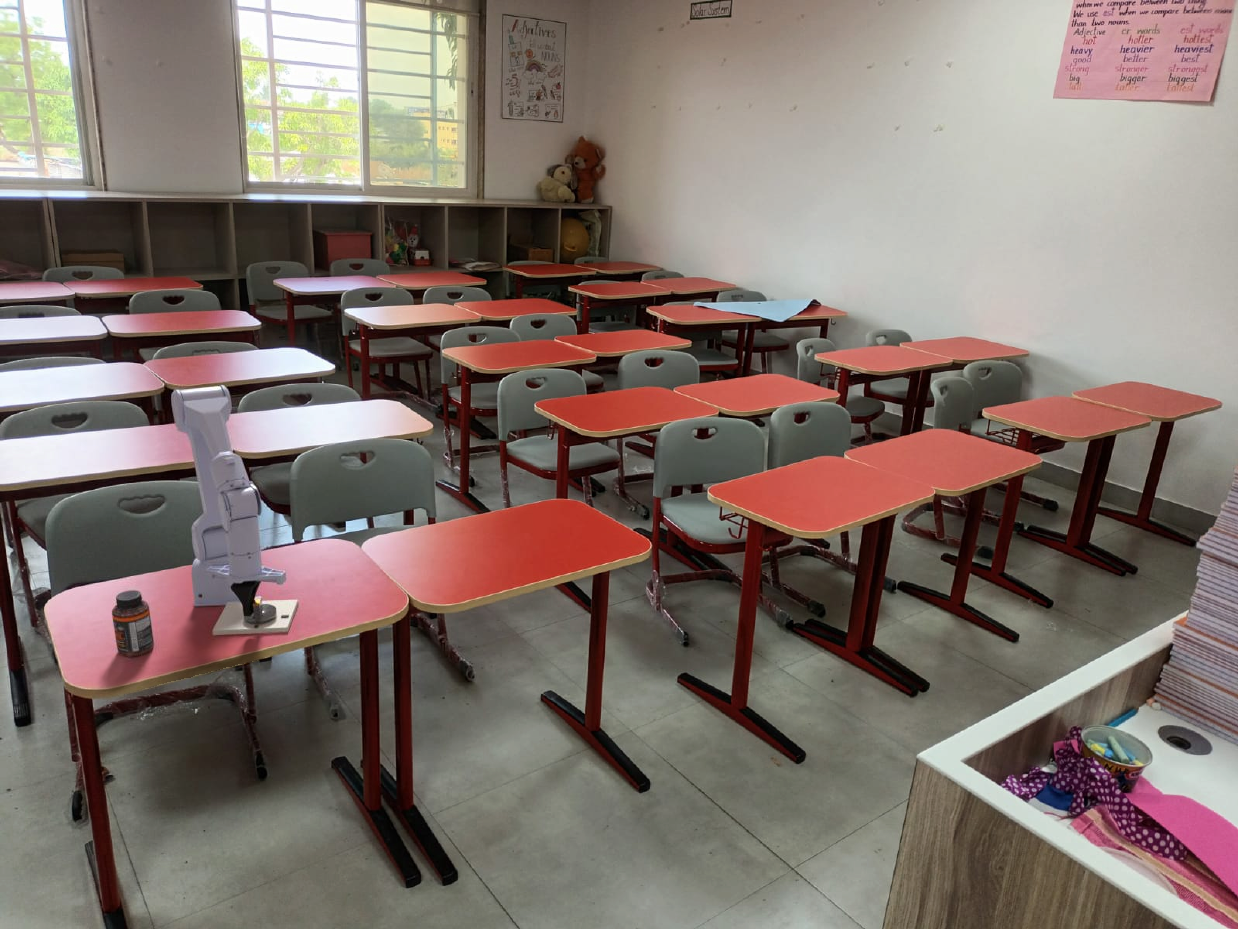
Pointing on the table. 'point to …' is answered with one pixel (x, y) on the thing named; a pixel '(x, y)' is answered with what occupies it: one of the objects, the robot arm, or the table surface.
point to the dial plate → (235, 624)
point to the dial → (261, 612)
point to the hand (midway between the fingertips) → (249, 614)
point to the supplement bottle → (132, 624)
